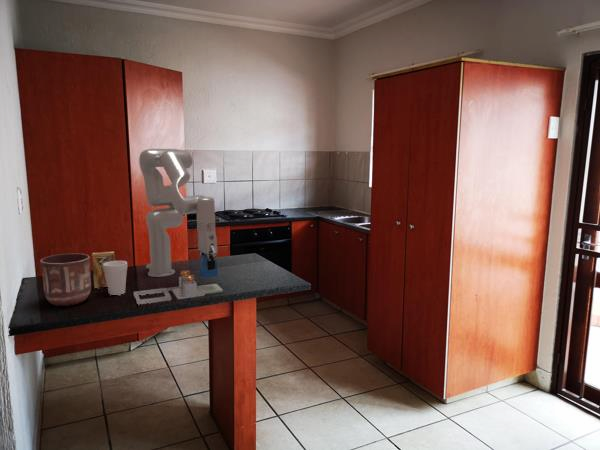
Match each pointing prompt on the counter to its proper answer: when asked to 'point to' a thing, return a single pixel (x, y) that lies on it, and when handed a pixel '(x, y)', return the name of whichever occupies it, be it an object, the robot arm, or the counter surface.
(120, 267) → the foam cup
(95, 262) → the candy box
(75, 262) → the pottery
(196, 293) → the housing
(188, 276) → the plunger
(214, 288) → the mat
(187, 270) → the plunger
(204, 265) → the perfume bottle
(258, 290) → the counter surface
